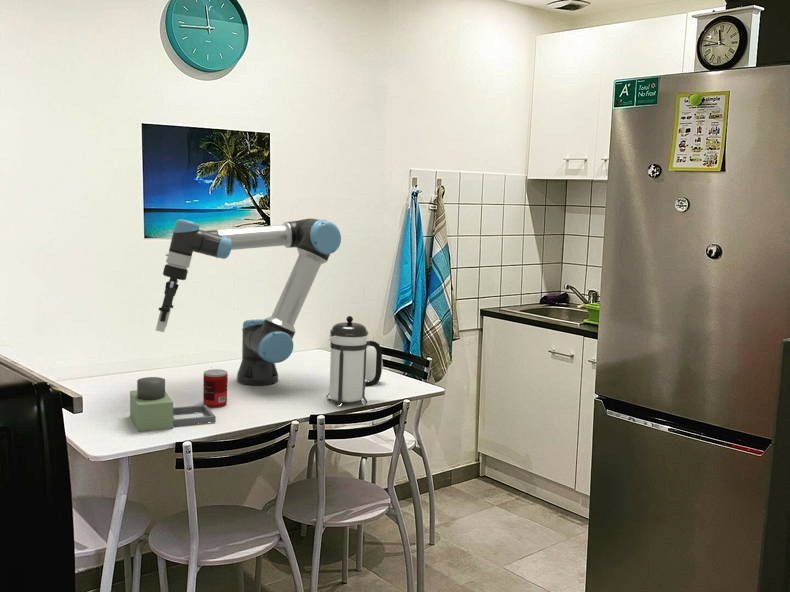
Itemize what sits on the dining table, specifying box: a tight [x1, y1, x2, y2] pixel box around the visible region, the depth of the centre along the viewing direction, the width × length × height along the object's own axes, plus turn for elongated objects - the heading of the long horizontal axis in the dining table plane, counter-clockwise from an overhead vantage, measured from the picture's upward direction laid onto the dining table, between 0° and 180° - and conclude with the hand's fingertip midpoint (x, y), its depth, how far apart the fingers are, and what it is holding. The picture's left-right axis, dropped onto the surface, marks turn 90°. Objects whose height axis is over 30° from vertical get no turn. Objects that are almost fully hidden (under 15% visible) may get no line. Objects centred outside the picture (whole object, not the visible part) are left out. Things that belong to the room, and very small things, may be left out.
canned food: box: [202, 368, 228, 408], centre depth 255 cm, size 8×8×11 cm
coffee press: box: [325, 315, 383, 406], centre depth 264 cm, size 17×16×30 cm
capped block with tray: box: [129, 376, 217, 432], centre depth 236 cm, size 23×16×13 cm
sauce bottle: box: [365, 336, 384, 382], centre depth 291 cm, size 8×8×18 cm
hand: (161, 328), depth 254 cm, fingers open, 13 cm apart
